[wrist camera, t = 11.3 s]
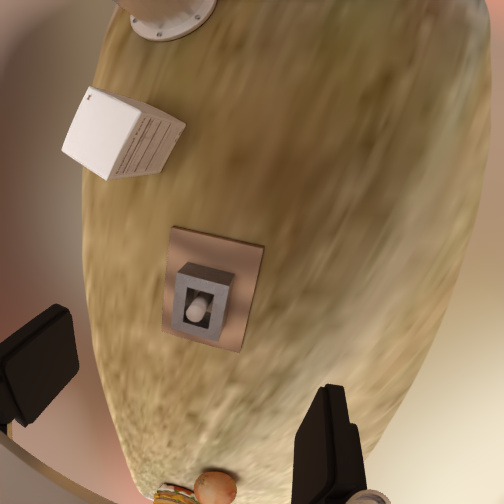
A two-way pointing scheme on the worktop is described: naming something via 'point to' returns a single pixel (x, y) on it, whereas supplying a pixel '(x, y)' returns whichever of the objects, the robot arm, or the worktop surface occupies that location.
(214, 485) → the onion
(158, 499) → the burger
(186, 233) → the keeper
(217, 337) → the link
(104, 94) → the supplement box
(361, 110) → the worktop surface
